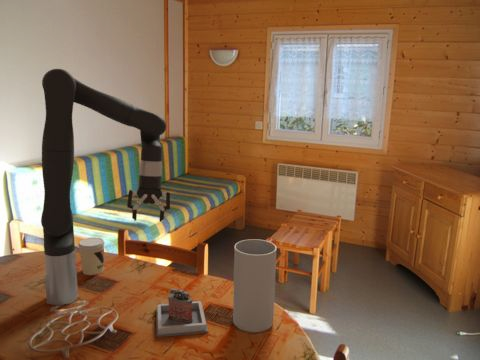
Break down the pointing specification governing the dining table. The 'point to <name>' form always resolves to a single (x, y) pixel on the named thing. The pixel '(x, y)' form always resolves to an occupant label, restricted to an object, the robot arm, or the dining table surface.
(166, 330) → the tray
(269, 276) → the cylinder vase
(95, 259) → the coffee cup
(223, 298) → the dining table surface
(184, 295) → the lighter
